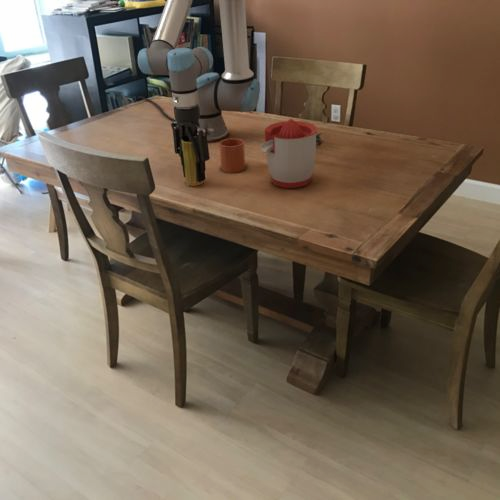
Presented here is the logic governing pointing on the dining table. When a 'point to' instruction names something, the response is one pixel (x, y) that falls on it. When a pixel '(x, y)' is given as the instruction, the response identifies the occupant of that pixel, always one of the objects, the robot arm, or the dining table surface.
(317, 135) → the rhino figurine
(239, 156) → the terracotta cup
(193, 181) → the vase
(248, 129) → the dining table surface
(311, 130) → the citrus juicer
